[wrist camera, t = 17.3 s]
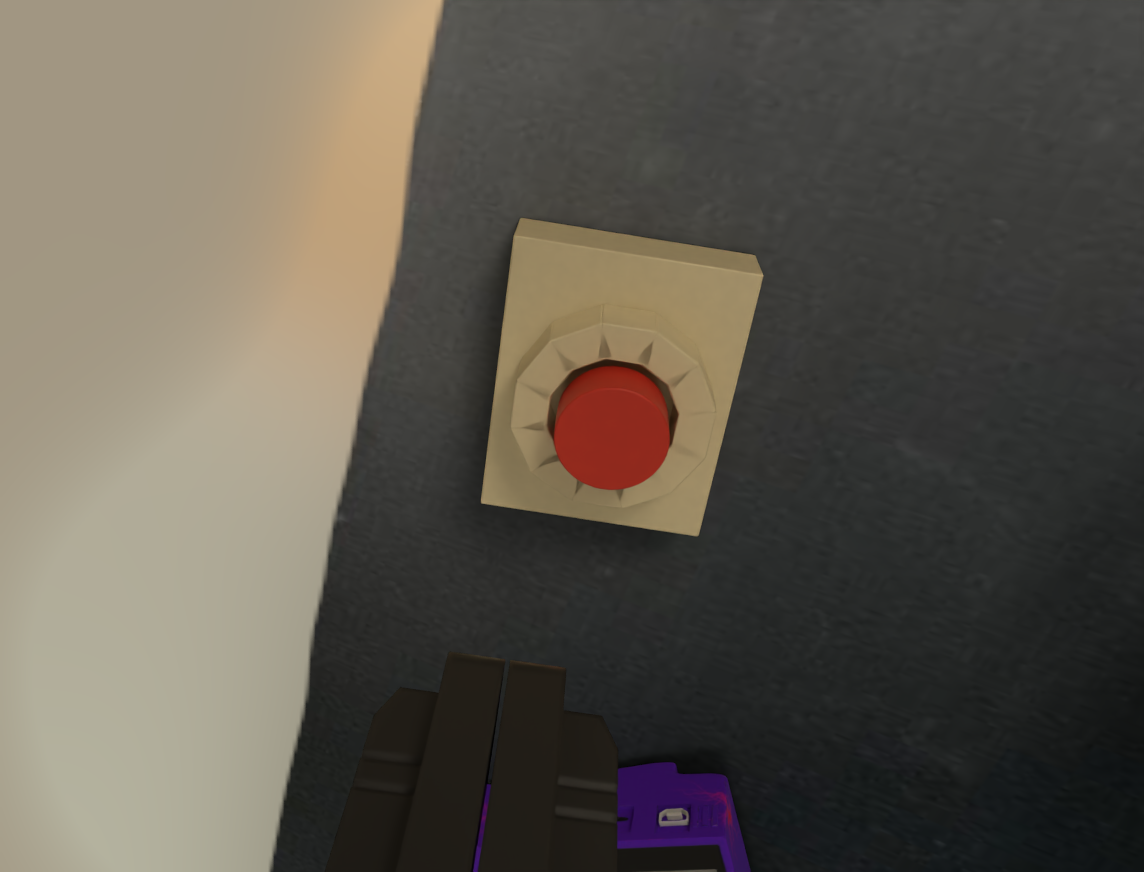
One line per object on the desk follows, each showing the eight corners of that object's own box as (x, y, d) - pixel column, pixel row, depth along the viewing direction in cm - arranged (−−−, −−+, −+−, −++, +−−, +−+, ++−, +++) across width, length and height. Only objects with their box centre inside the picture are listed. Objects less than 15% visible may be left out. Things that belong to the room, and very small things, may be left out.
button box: (520, 216, 32) (507, 251, 29) (755, 254, 33) (771, 293, 29) (488, 474, 37) (473, 530, 33) (694, 505, 37) (702, 565, 34)
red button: (565, 356, 31) (562, 379, 29) (677, 374, 31) (680, 397, 29) (549, 455, 32) (546, 481, 31) (656, 471, 32) (658, 498, 31)
